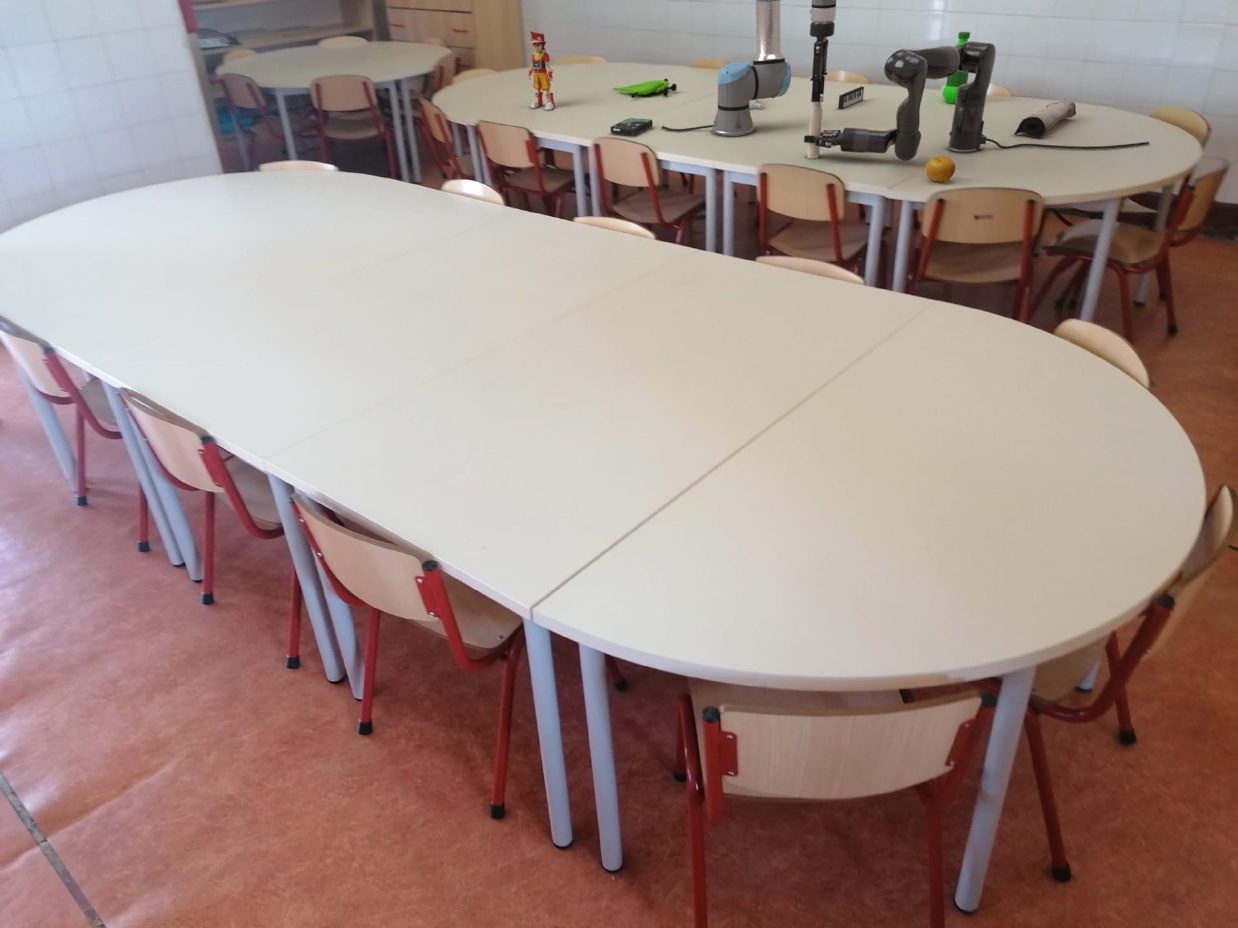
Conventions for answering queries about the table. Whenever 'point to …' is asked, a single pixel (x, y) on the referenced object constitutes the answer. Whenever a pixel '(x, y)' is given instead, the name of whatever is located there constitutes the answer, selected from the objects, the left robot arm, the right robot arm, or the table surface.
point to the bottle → (815, 129)
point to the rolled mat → (1046, 118)
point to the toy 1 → (541, 71)
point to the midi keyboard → (850, 97)
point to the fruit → (940, 169)
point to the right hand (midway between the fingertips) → (806, 137)
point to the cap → (820, 99)
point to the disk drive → (631, 126)
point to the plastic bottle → (956, 75)
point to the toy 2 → (648, 88)
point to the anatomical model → (754, 104)
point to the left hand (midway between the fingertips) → (817, 99)
